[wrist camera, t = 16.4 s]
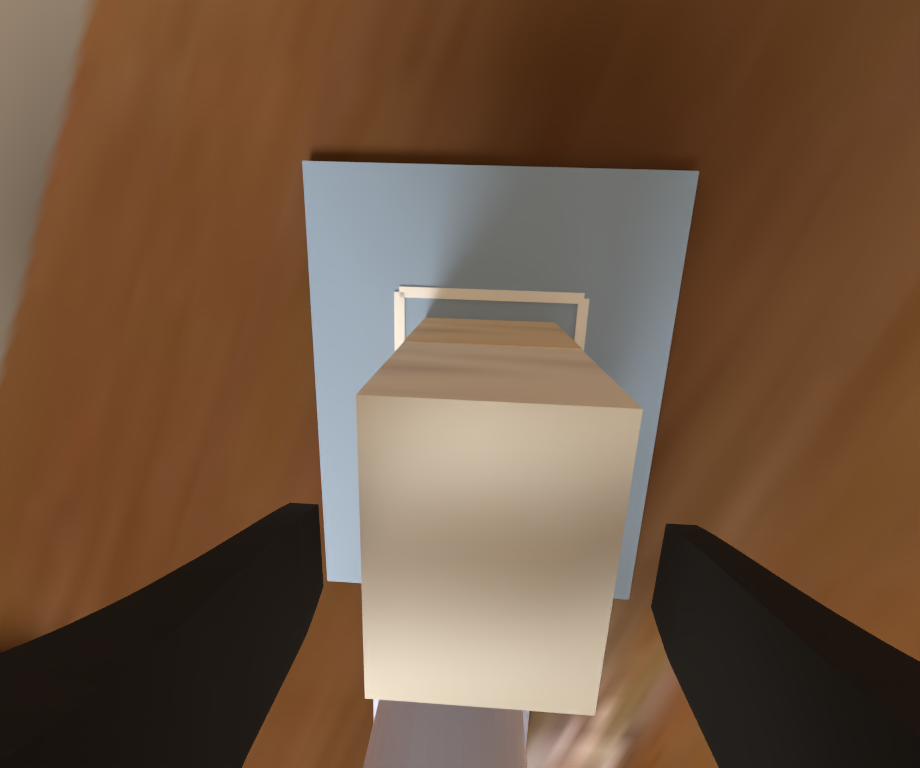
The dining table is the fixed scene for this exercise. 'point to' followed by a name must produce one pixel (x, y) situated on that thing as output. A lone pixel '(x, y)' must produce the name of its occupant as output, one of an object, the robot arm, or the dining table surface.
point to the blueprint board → (487, 289)
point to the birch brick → (491, 524)
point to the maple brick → (492, 333)
